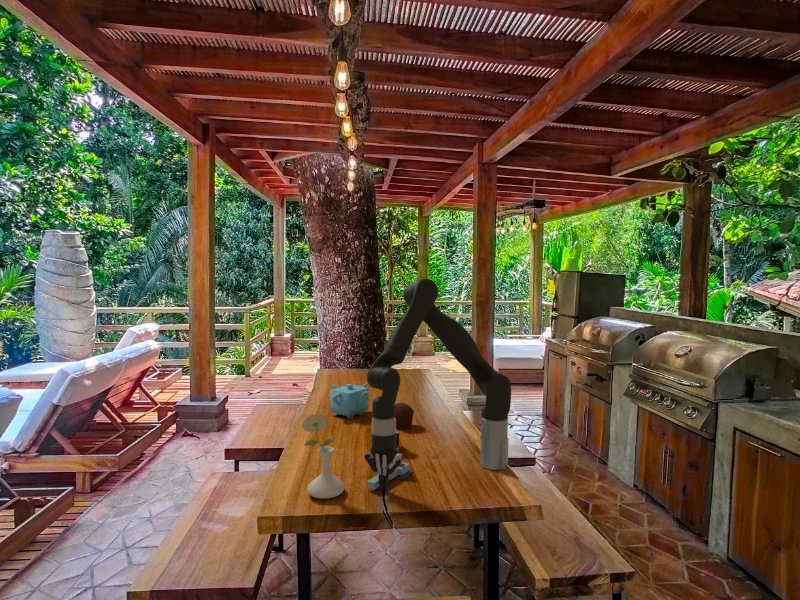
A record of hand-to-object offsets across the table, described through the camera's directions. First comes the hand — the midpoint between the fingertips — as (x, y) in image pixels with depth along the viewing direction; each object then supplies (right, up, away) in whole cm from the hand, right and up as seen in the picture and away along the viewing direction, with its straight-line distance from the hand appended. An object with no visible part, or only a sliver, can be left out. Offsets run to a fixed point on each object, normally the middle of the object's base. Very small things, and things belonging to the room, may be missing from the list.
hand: (383, 485), depth 144 cm
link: (+1, 0, +7) cm, 7 cm away
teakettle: (-18, +2, +79) cm, 81 cm away
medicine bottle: (0, 0, +36) cm, 36 cm away
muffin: (+6, +1, +62) cm, 62 cm away
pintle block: (+5, -1, +12) cm, 13 cm away
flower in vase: (-18, -2, -2) cm, 19 cm away
